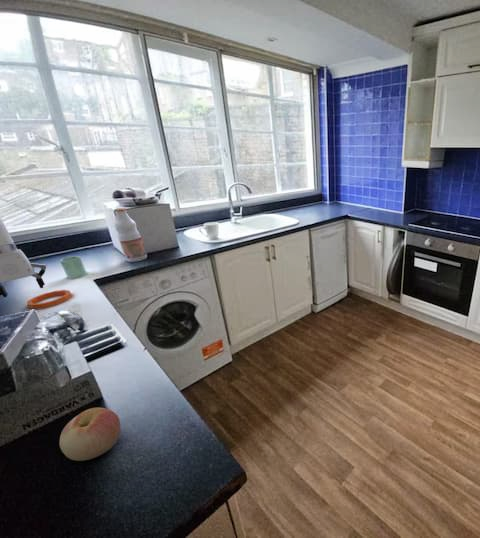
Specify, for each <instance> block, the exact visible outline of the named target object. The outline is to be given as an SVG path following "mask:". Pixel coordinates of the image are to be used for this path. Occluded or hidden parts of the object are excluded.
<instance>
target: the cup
mask: <svg viewBox="0 0 480 538" xmlns="http://www.w3.org/2000/svg"><path fill="white" fill-rule="evenodd" d="M81 258H82V257H81V256H79V255H73V256H67V257H64V258H61V259H60V260H59V262H60V264H61V266H62V268H63V271H64V273H65V275H66V278H67V279H69V280H71V279H73V280H74V279H78V278H81V277H84V276H86V275H88V272H87V270H86V268H85V266H84V263H83V261H82V259H81Z"/></svg>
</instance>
